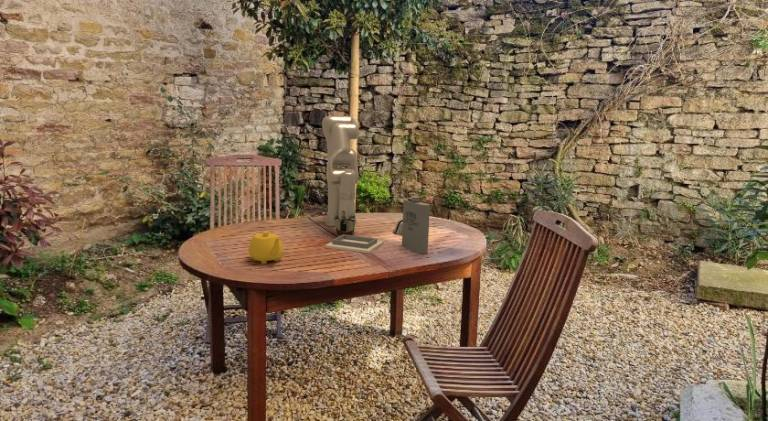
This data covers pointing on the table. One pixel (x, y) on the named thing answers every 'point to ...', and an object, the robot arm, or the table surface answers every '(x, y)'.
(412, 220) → the grey upright block
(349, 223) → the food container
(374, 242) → the board
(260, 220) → the table surface
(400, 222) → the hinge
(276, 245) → the teapot
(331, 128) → the robot arm
